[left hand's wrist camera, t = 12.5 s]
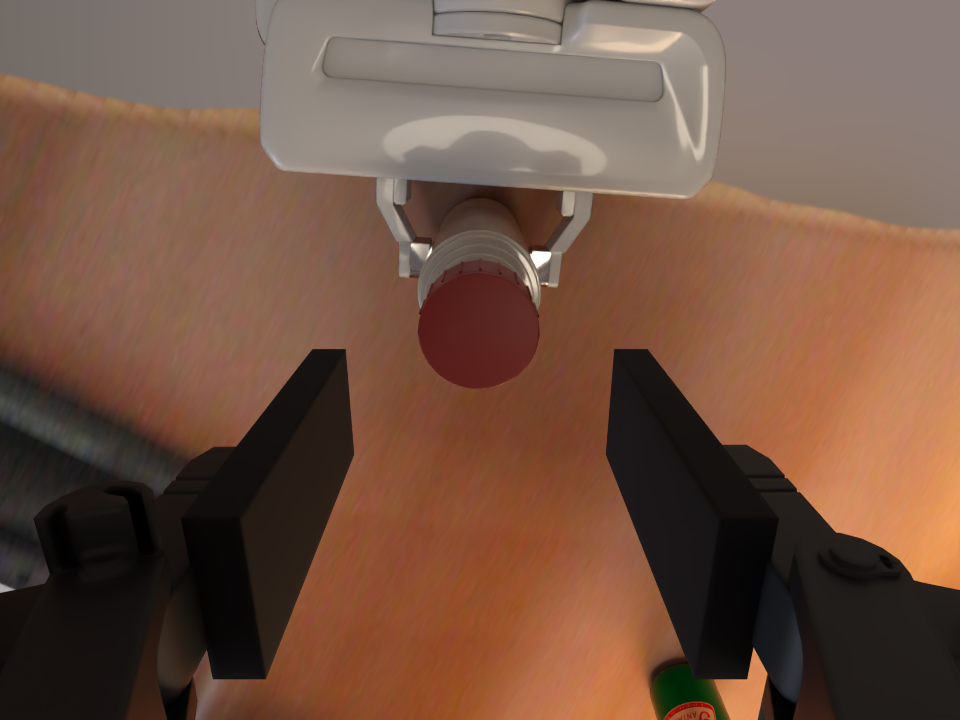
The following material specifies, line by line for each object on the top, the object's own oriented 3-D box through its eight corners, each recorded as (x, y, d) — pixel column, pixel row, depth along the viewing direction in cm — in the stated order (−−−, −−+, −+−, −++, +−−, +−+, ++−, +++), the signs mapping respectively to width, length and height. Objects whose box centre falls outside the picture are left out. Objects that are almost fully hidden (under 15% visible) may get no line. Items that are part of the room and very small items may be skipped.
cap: (427, 369, 22) (422, 393, 20) (417, 261, 21) (410, 275, 19) (536, 364, 22) (541, 387, 20) (533, 254, 21) (539, 268, 19)
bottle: (441, 283, 37) (409, 402, 21) (435, 199, 36) (394, 257, 19) (522, 278, 37) (556, 395, 21) (520, 195, 35) (554, 249, 19)
